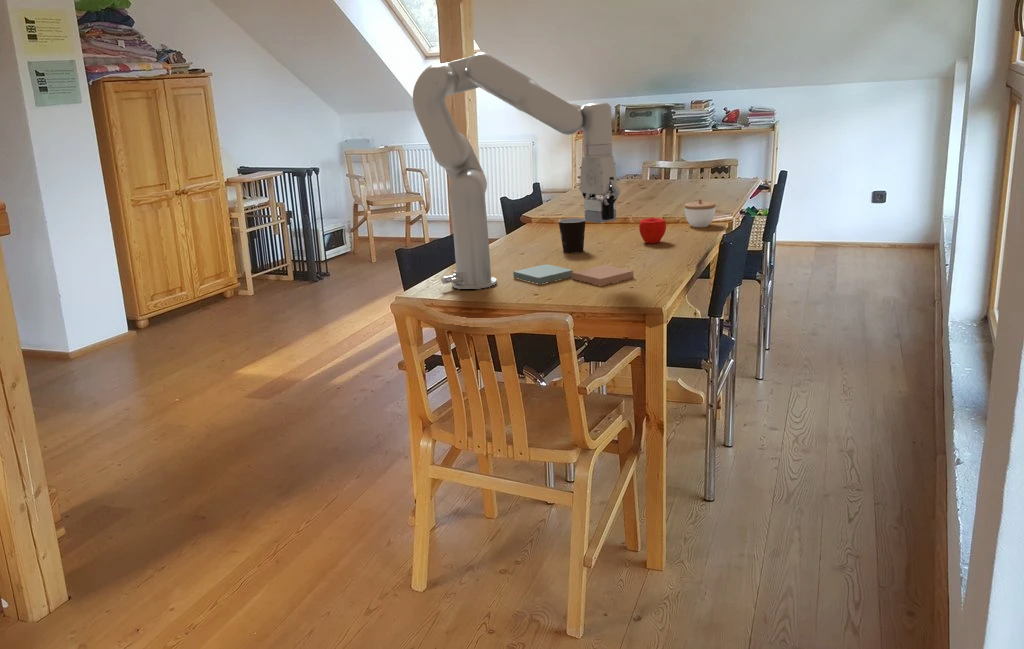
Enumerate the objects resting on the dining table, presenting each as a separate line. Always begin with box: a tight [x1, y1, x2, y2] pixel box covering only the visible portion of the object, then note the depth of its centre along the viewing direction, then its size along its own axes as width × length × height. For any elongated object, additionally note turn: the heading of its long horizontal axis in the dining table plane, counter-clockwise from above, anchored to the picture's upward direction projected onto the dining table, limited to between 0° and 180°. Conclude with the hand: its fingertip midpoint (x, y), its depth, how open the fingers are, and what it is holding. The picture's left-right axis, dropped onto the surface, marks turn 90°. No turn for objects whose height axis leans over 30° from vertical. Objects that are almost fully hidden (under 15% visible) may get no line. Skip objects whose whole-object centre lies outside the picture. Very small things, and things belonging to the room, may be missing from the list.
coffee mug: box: [558, 217, 586, 254], centre depth 277 cm, size 12×9×10 cm
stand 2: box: [571, 264, 634, 287], centre depth 238 cm, size 12×12×2 cm
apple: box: [638, 217, 667, 244], centre depth 281 cm, size 9×9×8 cm
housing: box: [583, 195, 617, 224], centre depth 233 cm, size 6×6×6 cm
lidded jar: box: [684, 198, 717, 228], centre depth 304 cm, size 11×11×9 cm
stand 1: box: [512, 263, 574, 285], centre depth 244 cm, size 12×12×2 cm
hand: (600, 217), depth 234 cm, fingers closed on housing, 6 cm apart
